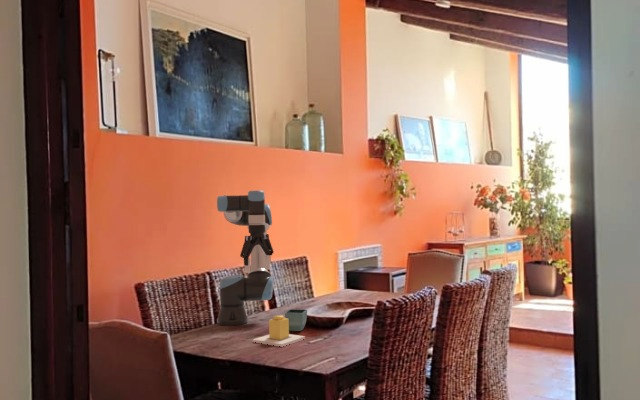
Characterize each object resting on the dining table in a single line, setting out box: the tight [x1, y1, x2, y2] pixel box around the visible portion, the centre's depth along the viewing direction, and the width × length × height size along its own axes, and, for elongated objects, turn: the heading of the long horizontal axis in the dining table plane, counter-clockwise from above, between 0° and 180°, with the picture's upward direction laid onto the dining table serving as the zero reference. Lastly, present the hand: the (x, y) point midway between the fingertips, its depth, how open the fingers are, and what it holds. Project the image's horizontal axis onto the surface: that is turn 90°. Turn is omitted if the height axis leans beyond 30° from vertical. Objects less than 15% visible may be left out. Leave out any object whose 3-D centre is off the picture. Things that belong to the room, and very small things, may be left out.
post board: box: [252, 333, 306, 348], centre depth 253 cm, size 16×16×6 cm
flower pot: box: [284, 308, 308, 332], centre depth 273 cm, size 9×9×9 cm
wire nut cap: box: [268, 314, 290, 340], centre depth 253 cm, size 6×6×9 cm
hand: (257, 271), depth 266 cm, fingers open, 13 cm apart
